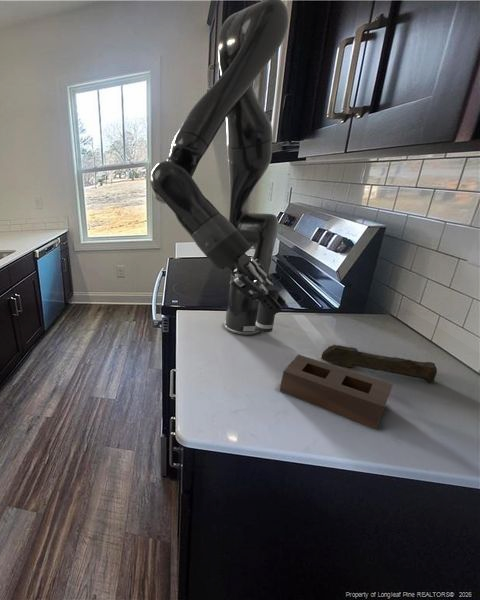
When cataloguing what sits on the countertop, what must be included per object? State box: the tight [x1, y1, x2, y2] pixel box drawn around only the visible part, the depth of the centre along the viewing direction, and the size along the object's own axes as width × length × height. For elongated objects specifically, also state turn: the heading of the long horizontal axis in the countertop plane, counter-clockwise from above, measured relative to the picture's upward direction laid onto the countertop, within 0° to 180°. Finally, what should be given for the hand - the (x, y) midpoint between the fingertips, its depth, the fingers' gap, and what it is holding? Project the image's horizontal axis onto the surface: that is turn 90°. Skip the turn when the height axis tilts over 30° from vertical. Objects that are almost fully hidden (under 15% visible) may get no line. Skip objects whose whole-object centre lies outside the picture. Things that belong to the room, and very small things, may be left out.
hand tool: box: [320, 344, 438, 384], centre depth 71 cm, size 19×4×5 cm, turn 58°
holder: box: [279, 354, 394, 430], centre depth 63 cm, size 9×16×5 cm, turn 41°
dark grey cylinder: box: [255, 284, 281, 333], centre depth 63 cm, size 3×3×9 cm
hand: (279, 308), depth 61 cm, fingers closed on dark grey cylinder, 3 cm apart
